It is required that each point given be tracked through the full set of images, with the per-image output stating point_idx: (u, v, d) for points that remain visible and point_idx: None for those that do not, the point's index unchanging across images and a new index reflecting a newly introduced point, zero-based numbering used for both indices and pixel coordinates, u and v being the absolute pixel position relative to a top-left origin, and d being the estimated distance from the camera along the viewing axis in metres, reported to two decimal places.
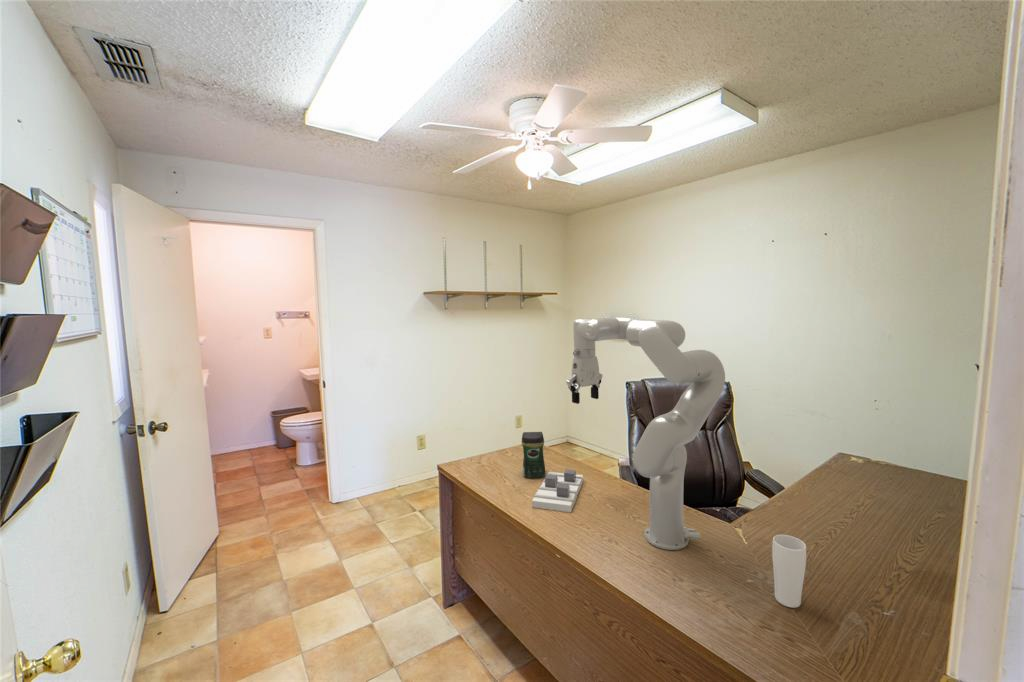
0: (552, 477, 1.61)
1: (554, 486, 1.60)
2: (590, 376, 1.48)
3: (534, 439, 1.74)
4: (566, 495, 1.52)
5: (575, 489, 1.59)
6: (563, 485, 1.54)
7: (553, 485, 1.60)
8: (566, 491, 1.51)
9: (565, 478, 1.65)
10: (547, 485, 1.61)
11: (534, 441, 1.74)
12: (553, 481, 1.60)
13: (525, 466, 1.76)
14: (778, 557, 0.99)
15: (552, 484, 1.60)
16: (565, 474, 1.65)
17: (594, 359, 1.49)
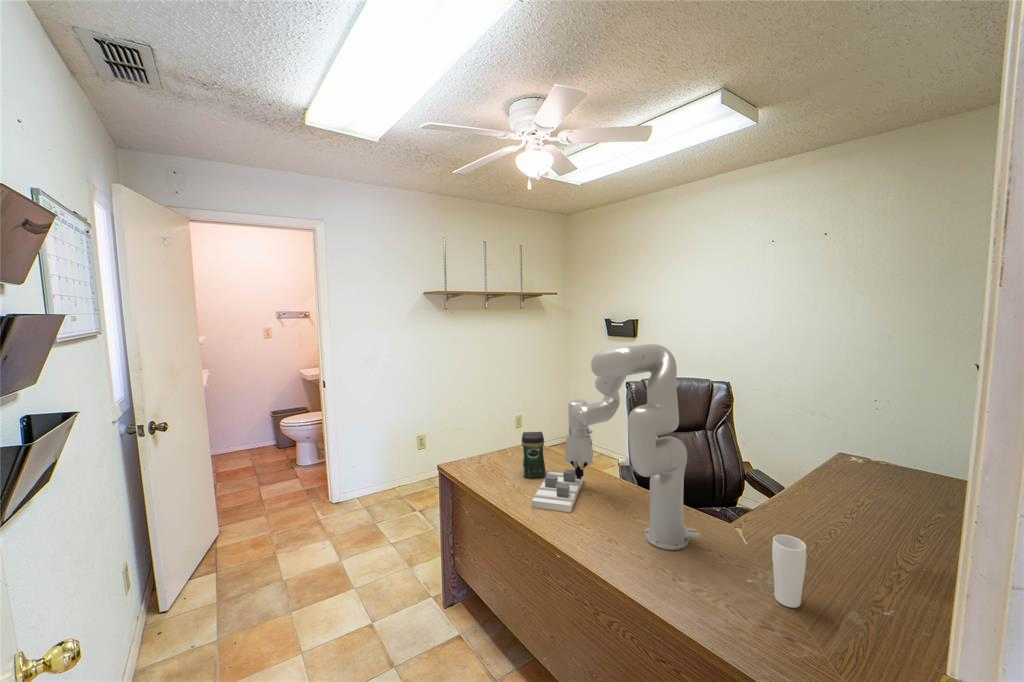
0: (552, 477, 1.61)
1: (554, 486, 1.60)
2: None
3: (534, 439, 1.74)
4: (566, 495, 1.52)
5: (575, 489, 1.59)
6: (563, 485, 1.54)
7: (553, 485, 1.60)
8: (566, 491, 1.51)
9: (564, 478, 1.65)
10: (547, 485, 1.61)
11: (534, 441, 1.74)
12: (553, 481, 1.60)
13: (525, 466, 1.76)
14: (778, 557, 0.99)
15: (552, 484, 1.60)
16: (564, 474, 1.65)
17: None
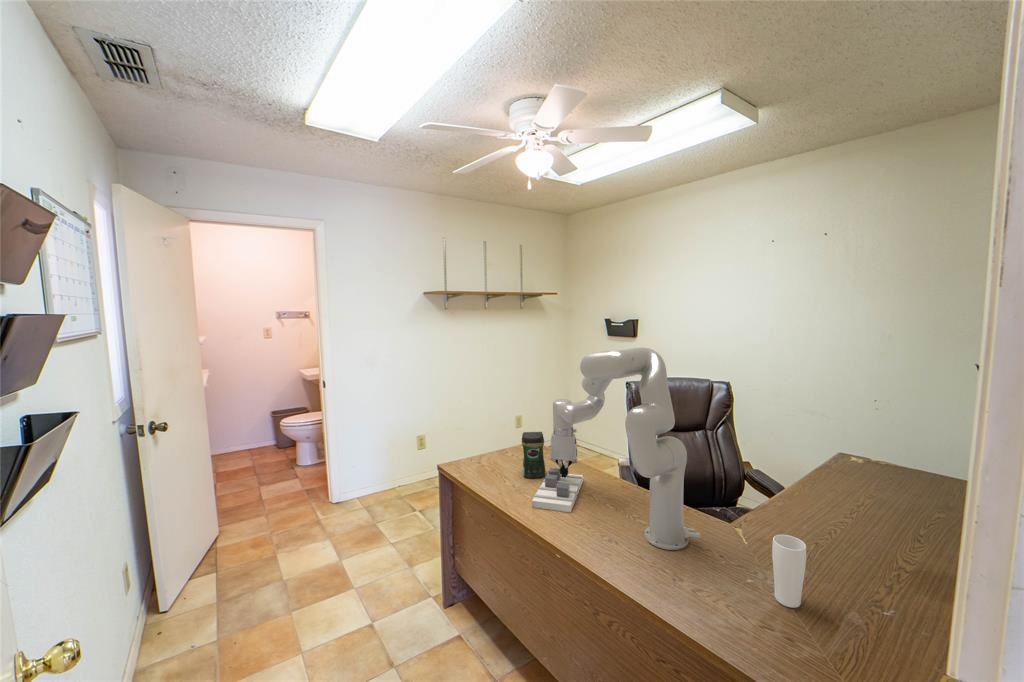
0: (552, 477, 1.61)
1: (554, 486, 1.60)
2: None
3: (534, 439, 1.74)
4: (566, 495, 1.52)
5: (575, 489, 1.59)
6: (563, 485, 1.54)
7: (553, 485, 1.60)
8: (566, 491, 1.51)
9: None
10: (547, 485, 1.61)
11: (534, 441, 1.74)
12: (553, 481, 1.60)
13: (525, 466, 1.76)
14: (778, 557, 0.99)
15: (552, 484, 1.60)
16: (549, 472, 1.67)
17: None
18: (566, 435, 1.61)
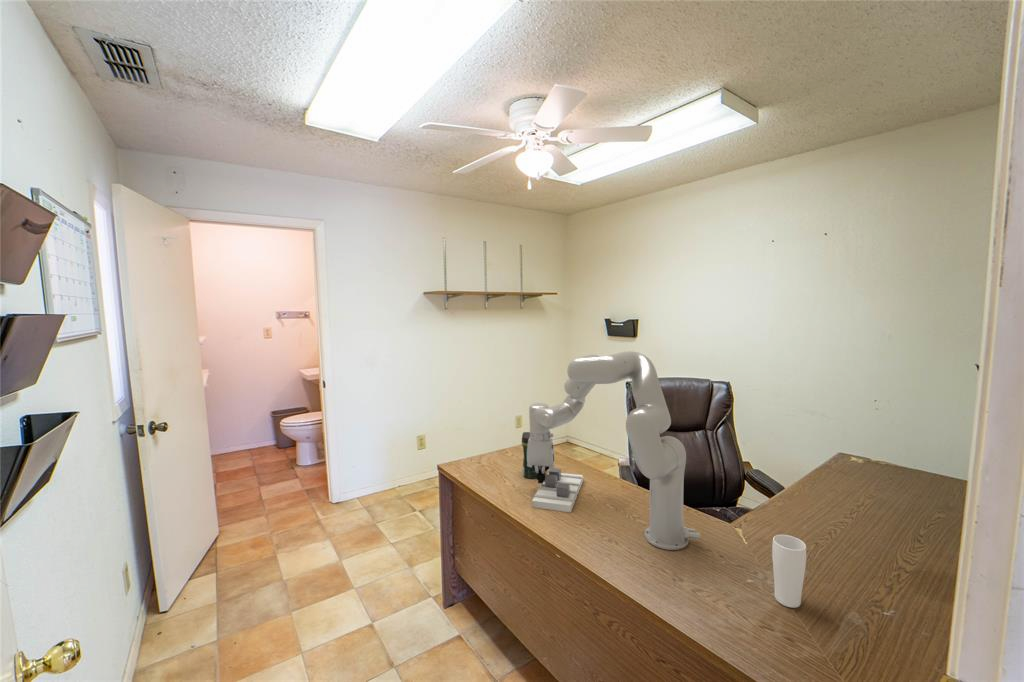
0: (552, 477, 1.61)
1: (554, 486, 1.60)
2: None
3: None
4: (566, 495, 1.52)
5: (575, 489, 1.59)
6: (563, 485, 1.54)
7: (553, 485, 1.60)
8: (566, 491, 1.51)
9: None
10: (547, 485, 1.61)
11: None
12: (553, 481, 1.60)
13: (525, 466, 1.76)
14: (778, 557, 0.99)
15: (553, 484, 1.60)
16: (550, 472, 1.67)
17: None
18: (542, 440, 1.58)
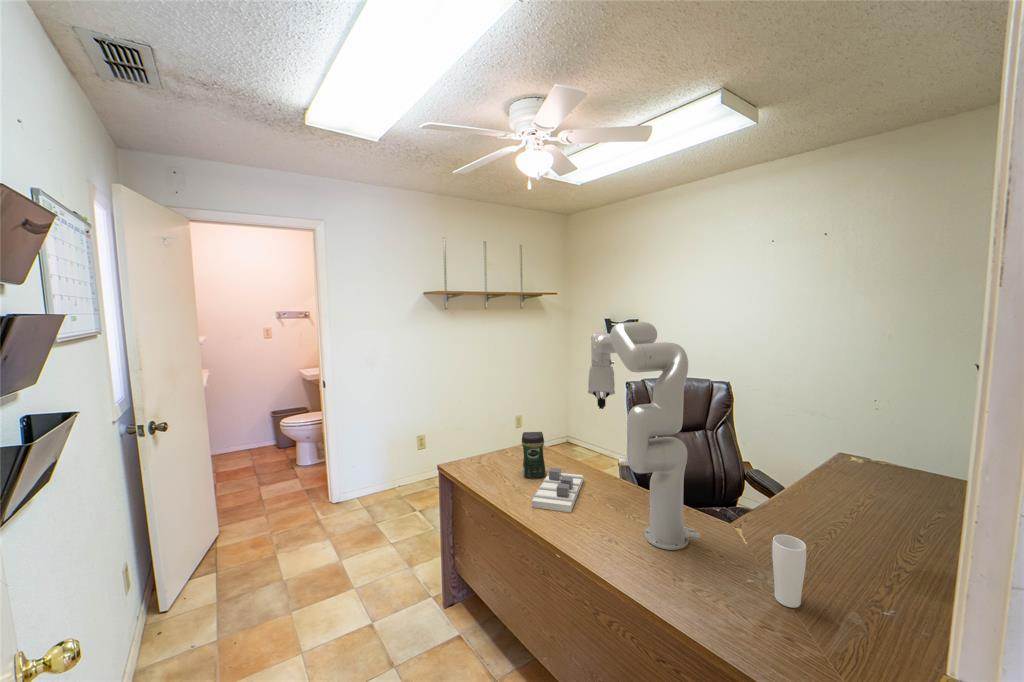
0: (568, 479, 1.59)
1: (570, 488, 1.58)
2: None
3: (534, 439, 1.74)
4: (566, 495, 1.52)
5: (575, 489, 1.59)
6: (563, 485, 1.54)
7: None
8: (566, 491, 1.51)
9: (550, 476, 1.67)
10: None
11: (534, 441, 1.74)
12: (569, 483, 1.58)
13: (525, 466, 1.76)
14: (778, 557, 0.99)
15: None
16: (550, 472, 1.67)
17: None
18: (605, 366, 1.66)
